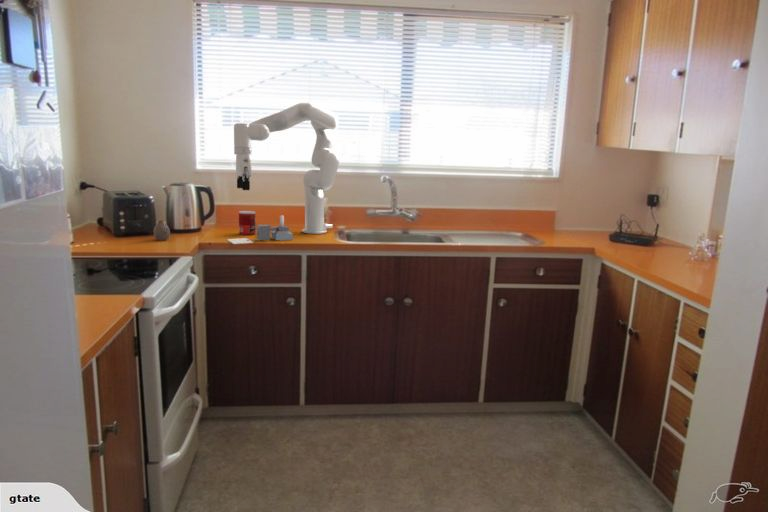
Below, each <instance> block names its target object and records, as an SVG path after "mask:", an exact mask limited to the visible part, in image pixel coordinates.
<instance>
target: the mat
mask: <svg viewBox="0 0 768 512" xmlns="http://www.w3.org/2000/svg"><path fill="white" fill-rule="evenodd" d="M226 240H227V241H228V242H229V243H231V244H232V245H244V244H245V245H247V244H254V241H252V240H251V239H249V238H247V237H245V238H244V237H243V238H242V237H241V238H228V239H226ZM247 240H249V241H247Z"/></svg>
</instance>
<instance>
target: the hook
mask: <svg viewBox="0 0 768 512" xmlns="http://www.w3.org/2000/svg"><path fill="white" fill-rule="evenodd" d="M275 231H290V227H289V226H286V225H284V227H283V228H280V225H279V226H278V225H276V226H271V225H269V224H257V225H256V240H257V239H258V240H270V241H271V232H275ZM258 240H257V241H258Z"/></svg>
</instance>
